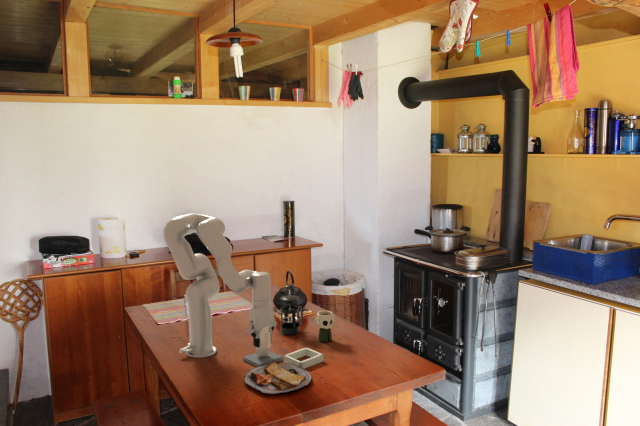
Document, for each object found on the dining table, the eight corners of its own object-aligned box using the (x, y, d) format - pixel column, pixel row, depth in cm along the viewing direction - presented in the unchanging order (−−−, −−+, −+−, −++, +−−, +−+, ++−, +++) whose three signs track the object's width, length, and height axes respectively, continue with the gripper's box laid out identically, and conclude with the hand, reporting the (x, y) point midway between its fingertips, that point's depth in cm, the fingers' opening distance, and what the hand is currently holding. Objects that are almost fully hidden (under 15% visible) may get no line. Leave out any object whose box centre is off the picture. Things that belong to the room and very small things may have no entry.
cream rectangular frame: (300, 370, 219) (300, 362, 219) (283, 362, 226) (283, 355, 226) (323, 361, 227) (323, 354, 227) (306, 354, 235) (306, 347, 235)
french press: (283, 337, 255) (283, 289, 251) (275, 331, 263) (275, 284, 260) (306, 333, 260) (306, 285, 257) (298, 327, 268) (297, 281, 265)
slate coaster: (259, 368, 221) (259, 364, 221) (243, 360, 229) (243, 357, 228) (282, 359, 229) (282, 356, 229) (266, 352, 237) (266, 349, 237)
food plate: (232, 380, 210) (232, 371, 209) (279, 363, 226) (279, 355, 225) (275, 404, 192) (275, 395, 192) (322, 384, 208) (322, 375, 208)
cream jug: (253, 353, 228) (252, 325, 227) (263, 349, 232) (263, 322, 231) (264, 358, 223) (263, 330, 221) (275, 354, 227) (274, 326, 225)
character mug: (318, 345, 245) (318, 317, 243) (310, 340, 251) (310, 312, 249) (339, 340, 250) (339, 313, 249) (330, 335, 256) (330, 308, 255)
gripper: (272, 296, 234) (273, 337, 236) (239, 304, 222) (240, 347, 225) (283, 300, 228) (284, 341, 231) (250, 309, 217) (251, 352, 219)
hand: (262, 344), depth 228 cm, fingers closed on cream jug, 5 cm apart
